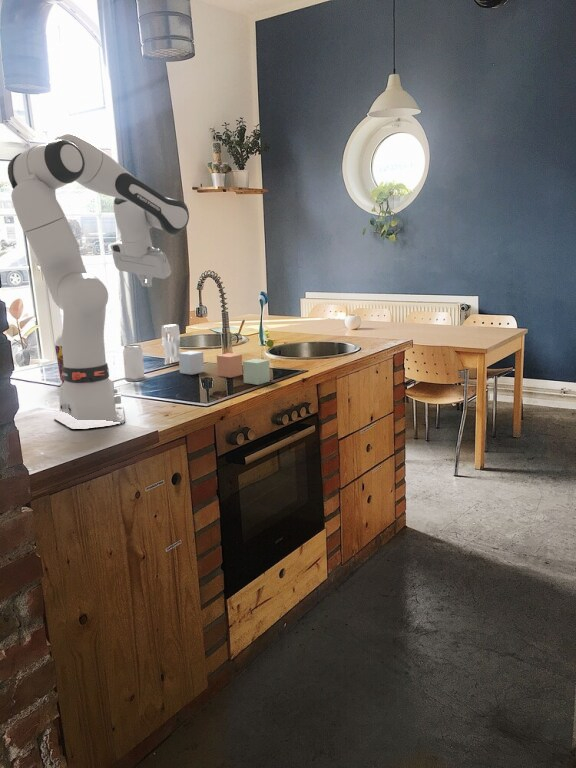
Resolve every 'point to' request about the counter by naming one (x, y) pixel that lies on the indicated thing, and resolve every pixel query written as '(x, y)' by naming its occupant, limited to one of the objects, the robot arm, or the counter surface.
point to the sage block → (256, 371)
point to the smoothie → (59, 356)
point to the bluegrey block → (191, 362)
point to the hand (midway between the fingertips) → (147, 285)
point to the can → (133, 362)
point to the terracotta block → (229, 365)
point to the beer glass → (171, 342)
